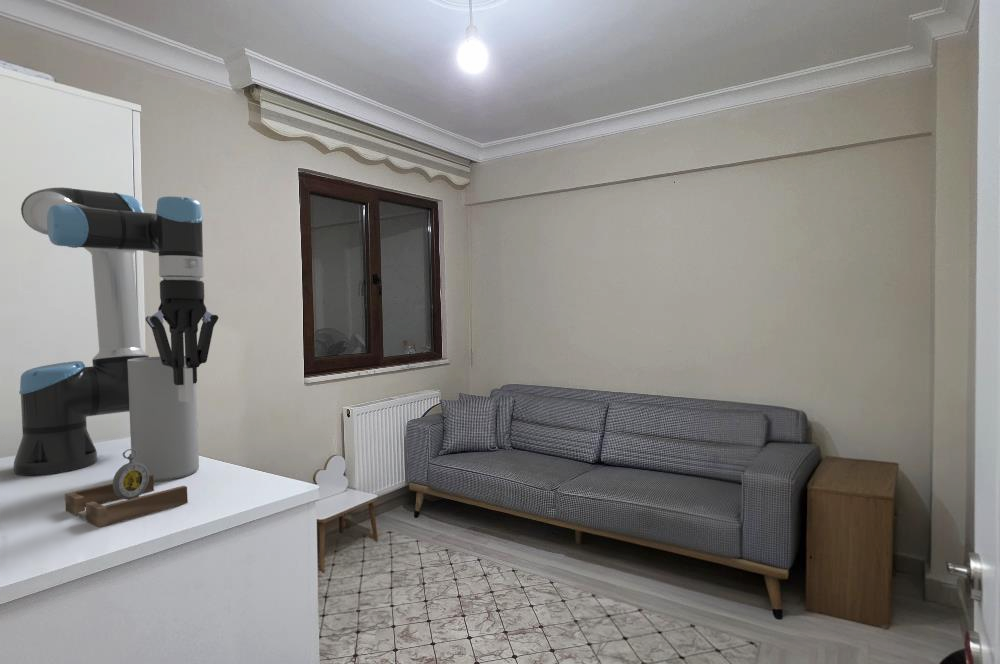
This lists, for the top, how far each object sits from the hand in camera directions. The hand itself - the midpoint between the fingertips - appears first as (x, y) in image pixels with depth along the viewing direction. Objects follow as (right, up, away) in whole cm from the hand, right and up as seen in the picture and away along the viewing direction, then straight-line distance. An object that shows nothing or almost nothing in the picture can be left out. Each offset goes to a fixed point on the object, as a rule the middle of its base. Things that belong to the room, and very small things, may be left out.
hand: (186, 401), depth 114 cm
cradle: (-6, -18, -8) cm, 21 cm away
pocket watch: (-4, -18, -7) cm, 20 cm away
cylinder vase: (-11, -17, +12) cm, 24 cm away
